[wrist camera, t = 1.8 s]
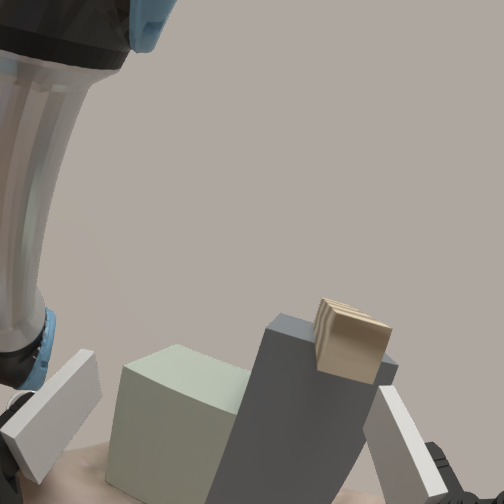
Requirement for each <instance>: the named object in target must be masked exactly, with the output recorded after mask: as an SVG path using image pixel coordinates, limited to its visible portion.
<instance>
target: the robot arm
mask: <svg viewBox="0 0 504 504" xmlns="http://www.w3.org/2000/svg"><path fill="white" fill-rule="evenodd" d="M176 1H177V0H0V384H3V385H6V386H9V387H13V388H14V389H16V390H31V391H37V392H36V393H33V392H31V391H30V392H28V393H26V394H24V395H22V396H20V397H19V398H18V399H17V400H16V401H15V402H14V404H12V405H11V406H10V407H9V409H7V410H6V411H5V412H4V413H3V414H2V415H1V416H0V504H23V499H22V494H21V489H20V484H19V478H18V476H17V474H16V473H17V471H18V470H19V469H20V470H21V471H22V473H23V475H24V476H25V477H26V478H27V479H29V480H31V481H33V482H35V483H37V484H38V485H40V484H41V482H42V481H43V479H44V478H45V476H46V475H47V473H48V472H49V470H50V469H51V468H52V466H53V465H54V463H55V462H56V460H57V459H58V458H59V456H60V455H61V453H62V452H63V450H64V449H65V448H66V446H67V445H68V443H69V442H70V441H71V439H72V438H73V436H74V435H75V433H76V432H77V431H78V429H79V428H80V427H81V425H82V424H83V423H84V421H85V420H86V418H87V417H88V415H89V414H90V413H91V411H92V410H93V409H94V407H95V406H96V405H97V403H98V402H99V401H100V399H101V398H102V392H101V387H100V381H99V375H98V369H97V362H96V356H95V352H93V351H90V350H86V349H81V350H80V351H79V352H77V353H76V354H75V356H73V357H72V358H71V359H70V360H69V361H68V362H67V363H66V364H65V365H64V366H63V367H62V368H61V369H60V370H59V371H58V372H57V373H56V374H55V375H54V376H52V377H51V378H50V379H49V380H48V381H47V382H46V383H45V384H44V385H43V383H44V381H45V378H46V373H47V369H48V362H49V359H50V355H51V350H52V345H53V339H54V332H55V325H56V316H55V314H54V312H53V311H51V310H49V309H48V308H47V307H45V303H44V299H43V297H42V295H41V293H40V291H39V289H38V288H37V286H36V283H37V276H38V268H39V261H40V255H41V249H42V243H43V238H44V232H45V227H46V222H47V217H48V213H49V209H50V204H51V200H52V196H53V192H54V188H55V184H56V181H57V177H58V173H59V170H60V166H61V163H62V160H63V157H64V154H65V151H66V147H67V144H68V141H69V138H70V136H71V133H72V130H73V127H74V124H75V122H76V119H77V116H78V114H79V111H80V108H81V106H82V103H83V101H84V98H85V96H86V94H87V91H88V89H89V88H90V87H91V86H92V84H94V83H96V82H98V81H100V80H102V79H104V78H107V77H109V76H111V75H113V74H115V73H117V72H119V70H120V68H121V67H122V65H123V63H124V61H125V59H126V57H127V55H128V53H129V52H130V50H131V49H132V50H134V51H135V52H136V53H148V52H151V51H152V50H153V49H154V48H155V45H156V43H157V41H158V39H159V37H160V34H161V32H162V30H163V27H164V25H165V24H166V22H167V19H168V17H169V15H170V13H171V11H172V9H173V7H174V5H175V3H176ZM363 432H364V435H365V438H366V441H367V443H368V447H369V450H370V453H371V456H372V459H373V462H374V465H375V469H376V472H377V475H378V478H379V481H380V485H381V488H382V491H383V495H384V498H385V501H386V504H504V491H503V492H501V493H500V494H499V495H498V496H497V497H496V498H495V499H479V498H478V497H477V496H476V495H474V494H473V493H470V492H464V491H463V489H462V487H461V485H460V483H459V481H458V479H457V477H456V475H455V473H454V472H453V470H452V468H451V466H449V462H448V460H447V459H446V457H445V455H444V453H443V451H442V449H441V448H440V447H438V446H437V445H436V444H435V443H434V442H428V443H424V442H423V440H422V438H421V436H420V434H419V432H418V430H417V428H416V426H415V424H414V422H413V421H412V419H411V417H410V415H409V413H408V411H407V409H406V408H405V406H404V404H403V402H402V401H401V398H400V397H399V395H398V393H397V391H396V389H395V387H394V386H378V389H377V392H376V395H375V398H374V401H373V403H372V406H371V409H370V411H369V414H368V416H367V419H366V422H365V424H364V427H363Z"/></svg>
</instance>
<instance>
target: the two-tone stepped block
mask: <svg viewBox="0 0 504 504" xmlns="http://www.w3.org/2000/svg"><path fill="white" fill-rule="evenodd" d="M397 369H398V364H396V363H395V362H394V361H393V360H392V359H391V358H390V357H389V356H388V355H387V354H386V353H384V356H383V358H382V361H381V364H380V366H379V369H378V372H377V374H376V377H375V380H374V382H373V385H372V384H368V383H364V382H360V381H356V380H352V379H348V378H344V377H340V376H337V375H333V374H329V373H326V372H322V371H319V370H317V361H316V350H315V339H314V329H313V323H312V322H308V321H305V320H302V319H298V318H295V317H292V316H288V315H285V314H282V313H280V314H279V315H278V316H277V317H276V318H275V319H274V320H273V321H272V322H271V323H270V324H269V325H268V326H267V327H266V329H265V332H264V335H263V338H262V341H261V345H260V348H259V351H258V354H257V357H256V360H255V363H254V366H253V369H252V372H251V371H248V370H245V369H242V368H239V367H236V366H234V365H231V364H228V363H225V362H223V361H220V360H217V359H215V358H212V357H209V356H207V355H204V354H201V353H199V352H196V351H194V350H191V349H189V348H186V347H184V346H181V345H179V344H175V345H173V346H170V347H168V348H165V349H163V350H161V351H158V352H156V353H153V354H151V355H148V356H146V357H144V358H141V359H139V360H136V361H134V362H131V363H129V364H126V365H124V366H123V369H122V374H121V379H120V385H119V390H118V395H117V401H116V407H115V413H114V419H113V426H112V432H111V439H110V446H109V453H108V461H107V470H106V479H105V481H106V482H108V483H109V484H111V485H113V486H114V487H116V488H118V489H120V490H121V491H123V492H125V493H127V494H128V495H130V496H132V497H134V498H136V499H138V500H140V501H142V502H144V503H146V504H331V503H332V501H333V500H334V498H335V497H336V495H337V493H338V492H339V490H340V488H341V487H342V485H343V483H344V481H345V480H346V478H347V476H348V474H349V472H350V471H351V469H352V467H353V465H354V464H355V462H356V460H357V458H358V456H359V454H360V452H361V450H362V448H363V446H364V444H365V442H366V438H365V435H364V432H363V427H364V424H365V422H366V419H367V416H368V414H369V411H370V409H371V406H372V403H373V401H374V398H375V395H376V392H377V389H378V386H391V384H392V382H393V379H394V376H395V374H396V371H397Z"/></svg>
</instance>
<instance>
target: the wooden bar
mask: <svg viewBox="0 0 504 504" xmlns="http://www.w3.org/2000/svg"><path fill="white" fill-rule="evenodd" d="M313 329H314V339H315V350H316V361H317V370H319V371H322V372H326V373H329V374H333V375H337V376H340V377H344V378H348V379H352V380H356V381H360V382H364V383H368V384H372V385H373V382H374V380H375V377H376V374H377V372H378V369H379V366H380V364H381V361H382V358H383V356H384V353H385V350H386V347H387V344H388V341H389V338H390V335H391V332H392V328H390V327H388V326H386V325H385V324H383V323H381V322H379V321H377V320H375V319H373V318H371V317H369V316H368V315H366V314H364V313H362V312H360V311H359V310H357V309H355V308H353V307H351V306H349V305H346V304H343V303H339V302H336V301H333V300H329V299H326V298H321V301H320V304H319V308H318V311H317V314H316V317H315V320H314V323H313Z"/></svg>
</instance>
